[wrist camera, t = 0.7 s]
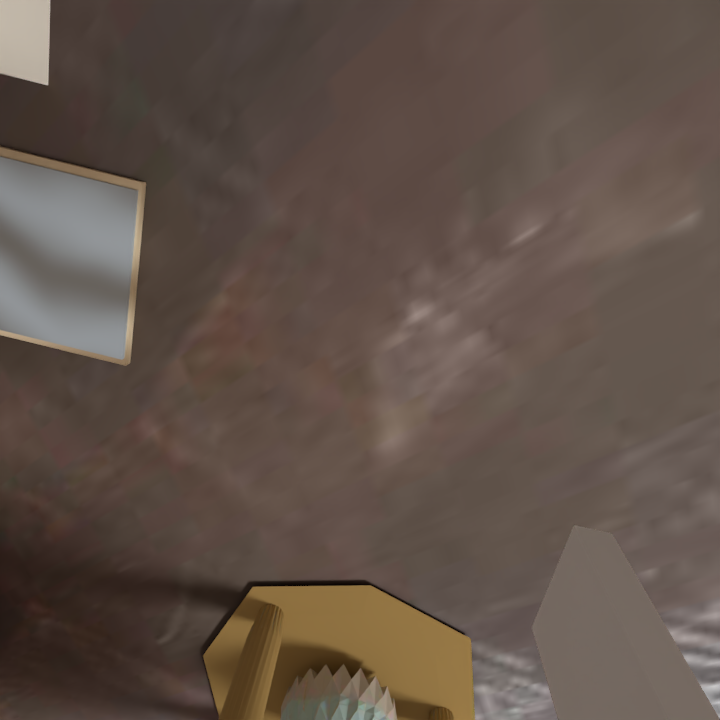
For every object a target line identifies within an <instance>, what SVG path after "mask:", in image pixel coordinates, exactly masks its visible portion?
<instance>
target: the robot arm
mask: <svg viewBox="0 0 720 720" xmlns="http://www.w3.org/2000/svg"><path fill="white" fill-rule="evenodd" d="M532 630H533V634H534V637H535V641H536V644H537V648H538V651H539V655H540V658H541V662H542V665H543V669H544V672H545V676H546V679H547V683H548V686H549V690H550V693H551V697H552V700H553V704H554V707H555V711H556V714H557V718H558V720H720V719H719V717H718V715H717V714H716V712H715V710H714V709H713V707H712V705H711V703H710V702H709V700H708V698H707V697H706V695H705V693H704V691H703V690H702V688H701V686H700V684H699V683H698V681H697V679H696V678H695V676H694V674H693V672H692V671H691V669H690V667H689V666H688V664H687V662H686V660H685V659H684V657H683V655H682V654H681V652H680V650H679V648H678V647H677V645H676V643H675V641H674V640H673V638H672V636H671V635H670V633H669V631H668V629H667V628H666V626H665V624H664V623H663V621H662V619H661V617H660V616H659V614H658V612H657V610H656V609H655V607H654V605H653V604H652V602H651V600H650V598H649V597H648V595H647V593H646V592H645V590H644V588H643V586H642V585H641V583H640V581H639V579H638V578H637V576H636V574H635V573H634V571H633V569H632V567H631V566H630V564H629V562H628V561H627V559H626V557H625V555H624V554H623V552H622V550H621V548H620V547H619V545H618V543H617V542H616V540H615V538H614V536H613V535H612V533H609V532H605V531H600V530H595V529H590V528H586V527H581V526H576V525H574V526H573V528H572V531H571V533H570V535H569V538H568V540H567V543H566V545H565V548H564V550H563V553H562V555H561V557H560V560H559V562H558V565H557V567H556V570H555V572H554V575H553V577H552V579H551V582H550V584H549V587H548V589H547V592H546V594H545V596H544V599H543V601H542V604H541V606H540V609H539V611H538V614H537V616H536V618H535V621H534V623H533V626H532Z"/></svg>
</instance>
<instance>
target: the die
mask: <svg viewBox="0 0 720 720" xmlns="http://www.w3.org/2000/svg"><path fill="white" fill-rule="evenodd" d="M49 31H50V0H0V74H4V75H8V76H12V77H16V78H20V79H24V80H28V81H32V82H36V83H40V84H44V85H48V70H49Z"/></svg>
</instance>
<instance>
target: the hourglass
mask: <svg viewBox="0 0 720 720" xmlns="http://www.w3.org/2000/svg"><path fill="white" fill-rule="evenodd" d="M203 658H204V662H205V666H206V669H207V673H208V677H209V681H210V684H211V688H212V692H213V696H214V699H215V703H216V707H217V711H218V715H219V720H475V712H474V692H473V672H472V652H471V639H470V638H468V637H467V636H465V635H463V634H461V633H459V632H457V631H455V630H453V629H452V628H450V627H448V626H446V625H444V624H442V623H440V622H438V621H437V620H435V619H433V618H431V617H429V616H427V615H425V614H423V613H422V612H420V611H418V610H416V609H414V608H412V607H410V606H408V605H406V604H405V603H403V602H401V601H399V600H397V599H395V598H393V597H391V596H390V595H388V594H386V593H384V592H382V591H380V590H378V589H376V588H375V587H373V586H371V585H357V586H268V587H252V589H251V590H250V592H249V593H248V594H247V596H246V597H245V598H244V600H243V601H242V603H241V604H240V605H239V607H238V608H237V609H236V611H235V612H234V614H233V615H232V616H231V618H230V619H229V620H228V622H227V623H226V625H225V626H224V627H223V629H222V630H221V631H220V633H219V634H218V636H217V637H216V638H215V640H214V641H213V642H212V644H211V645H210V647H209V648H208V649H207V651H206V652H205V653H204V655H203Z"/></svg>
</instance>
